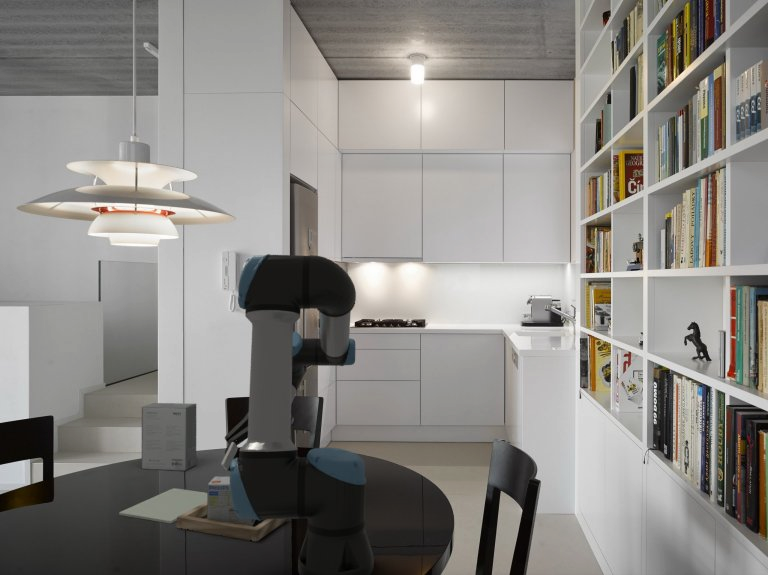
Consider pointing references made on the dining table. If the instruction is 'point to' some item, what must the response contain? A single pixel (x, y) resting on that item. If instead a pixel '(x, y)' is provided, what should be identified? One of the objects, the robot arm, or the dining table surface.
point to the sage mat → (166, 505)
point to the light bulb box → (222, 503)
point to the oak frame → (225, 525)
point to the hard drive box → (169, 436)
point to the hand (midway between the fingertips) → (246, 470)
